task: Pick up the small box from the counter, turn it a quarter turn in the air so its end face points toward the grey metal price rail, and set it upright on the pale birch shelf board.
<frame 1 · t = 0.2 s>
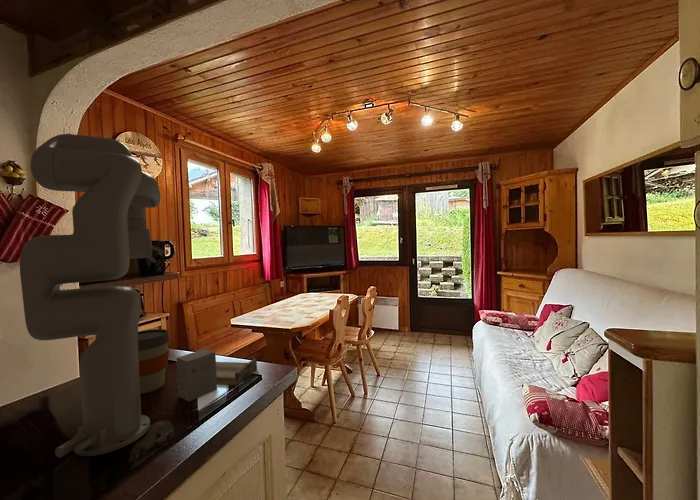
hand: (135, 275, 101), 31 cm above the counter, tool pointing down, fingers open, 9 cm apart
shelf board: (221, 375, 92), on the counter
small box: (198, 393, 81), on the counter
reusable coffee cup: (146, 387, 86), on the counter
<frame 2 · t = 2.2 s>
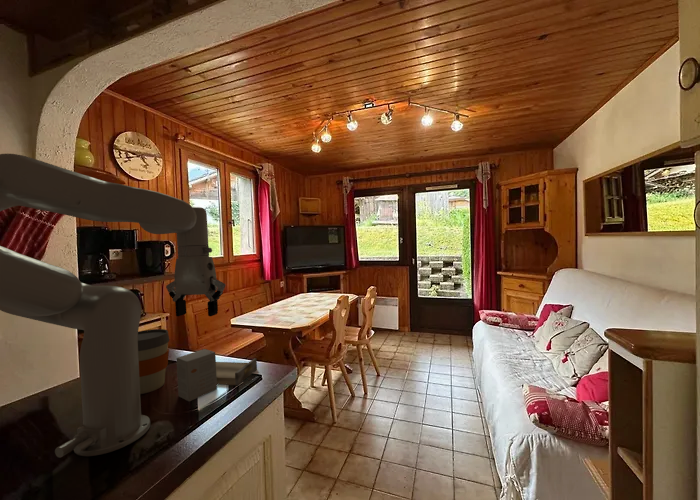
hand: (197, 315, 82), 21 cm above the counter, tool pointing down, fingers open, 9 cm apart
nothing on the counter moved.
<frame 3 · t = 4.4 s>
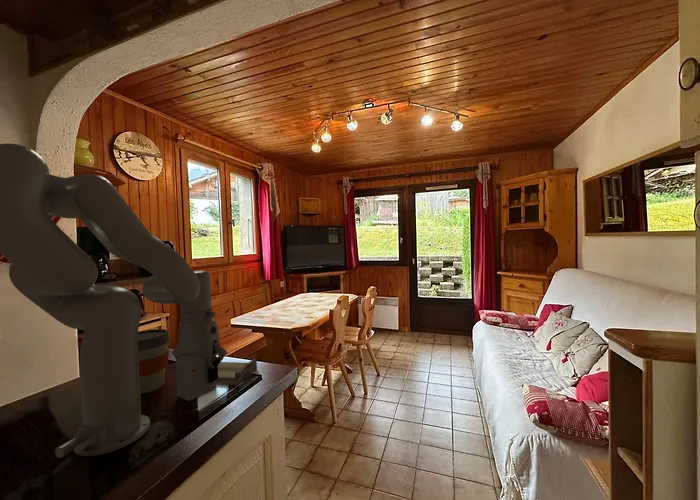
hand: (200, 380, 82), 3 cm above the counter, tool pointing down, fingers closed on small box, 7 cm apart
small box: (197, 393, 81), on the counter, touching gripper
everything else where it was.
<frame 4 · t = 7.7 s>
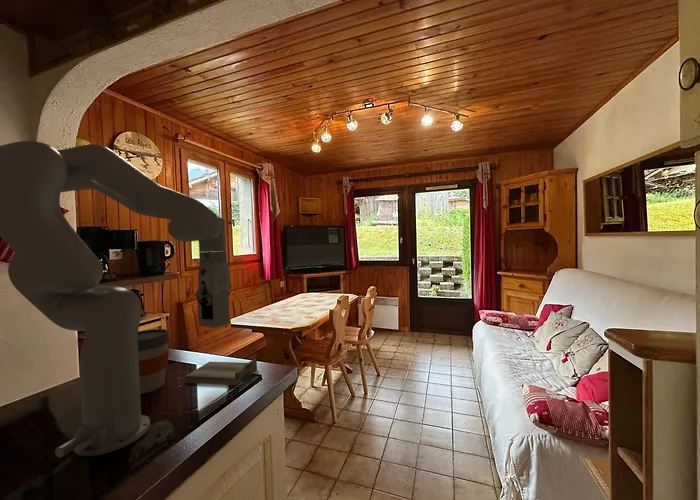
hand: (215, 315, 91), 19 cm above the counter, tool pointing down, fingers closed on small box, 7 cm apart
small box: (214, 325, 92), point 15 cm above the counter, touching gripper
everything else where it was.
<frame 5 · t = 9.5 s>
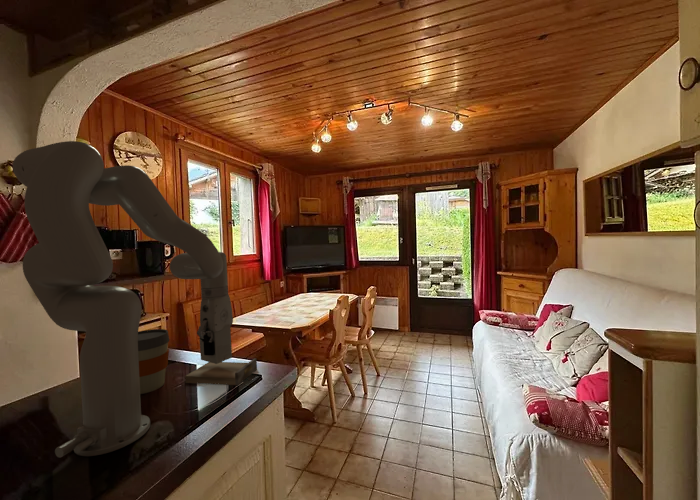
hand: (217, 349, 92), 8 cm above the counter, tool pointing down, fingers closed on small box, 7 cm apart
small box: (216, 359, 92), point 5 cm above the counter, touching gripper
everything else where it was.
when the fingers open (6 cm above the counter, at t = 10.9 s): small box drops 1 cm, resting on shelf board.
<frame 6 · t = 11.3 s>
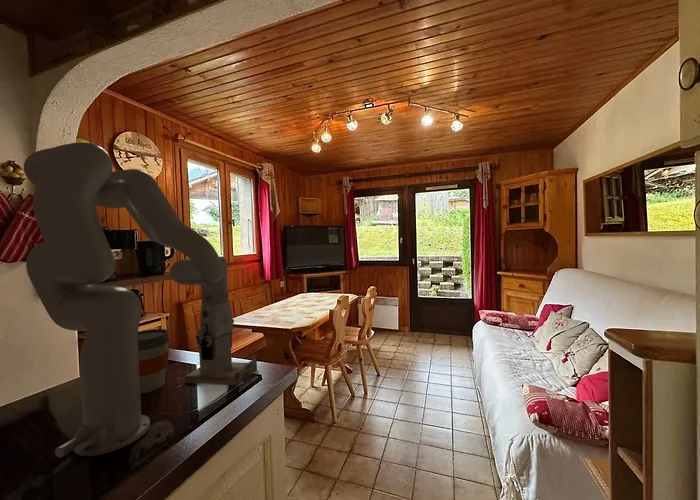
hand: (217, 353, 92), 7 cm above the counter, tool pointing down, fingers open, 9 cm apart
small box: (216, 369, 92), point 2 cm above the counter, touching shelf board
everything else where it was.
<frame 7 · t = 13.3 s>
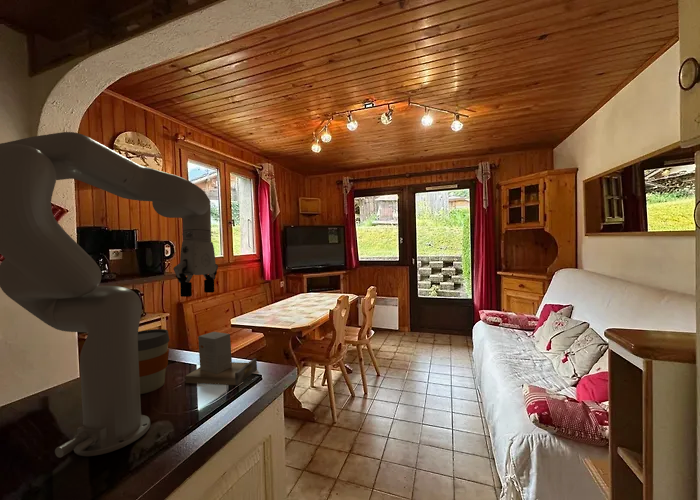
hand: (198, 294, 89), 25 cm above the counter, tool pointing down, fingers open, 9 cm apart
nothing on the counter moved.
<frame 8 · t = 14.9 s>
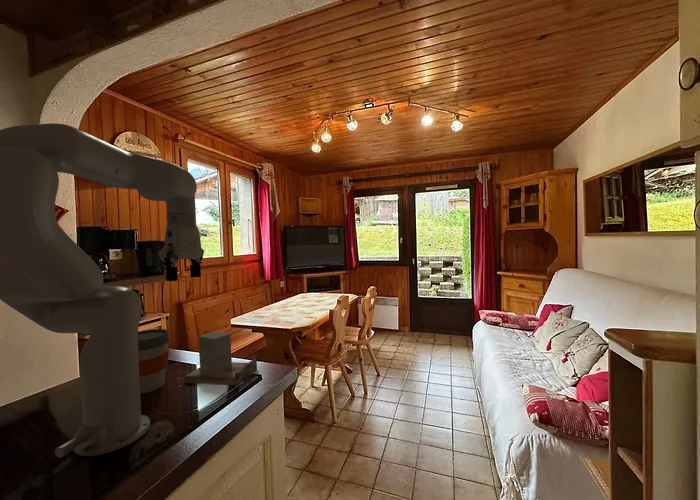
hand: (184, 278, 89), 30 cm above the counter, tool pointing down, fingers open, 9 cm apart
nothing on the counter moved.
at the end: small box inside the target area on the shelf board (1.9 cm from its centre), point 1.8 cm above the shelf board's base; small box tilted 0°; the gripper is holding nothing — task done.
